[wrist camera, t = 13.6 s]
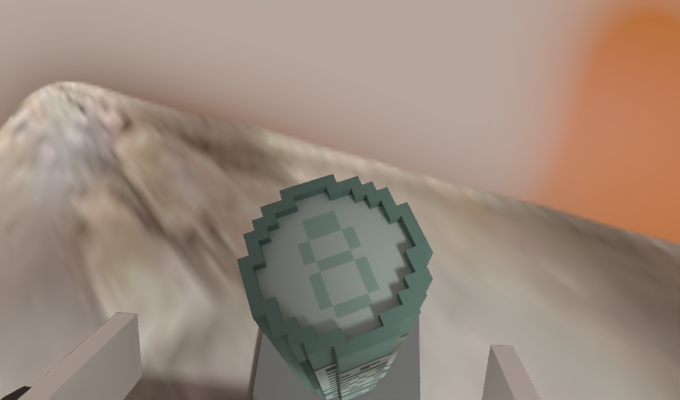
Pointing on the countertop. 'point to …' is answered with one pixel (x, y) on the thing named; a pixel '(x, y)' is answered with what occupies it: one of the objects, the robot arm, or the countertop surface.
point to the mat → (293, 396)
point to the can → (336, 281)
